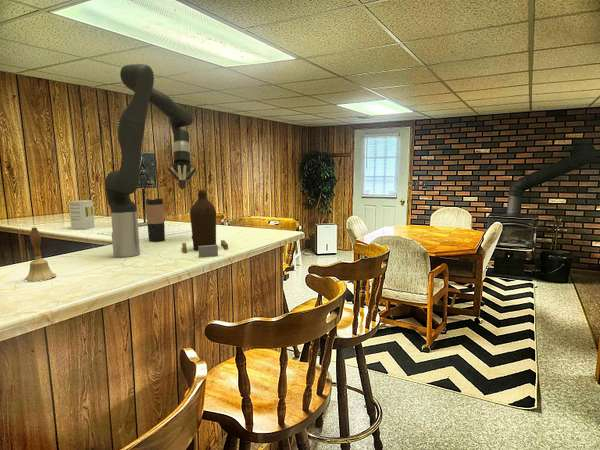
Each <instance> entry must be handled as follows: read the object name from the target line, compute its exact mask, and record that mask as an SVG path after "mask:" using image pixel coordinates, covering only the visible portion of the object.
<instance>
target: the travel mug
mask: <svg viewBox="0 0 600 450" xmlns="http://www.w3.org/2000/svg"><path fill="white" fill-rule="evenodd" d="M145 209H146V221H147V222H146V223H147V224H146V225H147V226H146V227H147V234H148V242H149V243H160V242H164V241H166V233H165V232H166V231H165V230H166V229H165V213H164V200H163V198H154V199H151V198H147V199H145Z"/></svg>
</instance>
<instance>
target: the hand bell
mask: <svg viewBox="0 0 600 450" xmlns="http://www.w3.org/2000/svg"><path fill="white" fill-rule="evenodd" d="M29 239H30V243H31V245H32V247H33V255H34V259H33V260H32V261H31V262H30V263H29V271H28V274H27V276H26V277H25V278H24V280H27V281H39V282H41V281H40V280H45V279H49V278H52V277H54V276H56V275H57V274H56V273H54V272H53V271H52V269H51V268H50V266H49V263H48V260H46V259H43V258H42V253H41V244H42V243H41V242H42V240H41V239H42V238H41V235H40V231H39V230H38V227H36V226H35V227H31V231H30V235H29ZM56 277H57V276H56ZM52 279H53V278H52ZM49 280H50V279H49ZM45 281H46V280H45Z"/></svg>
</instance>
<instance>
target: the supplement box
mask: <svg viewBox="0 0 600 450" xmlns="http://www.w3.org/2000/svg"><path fill="white" fill-rule="evenodd" d="M68 207H69V216H70V219H69V220H70V227H71V230H89V229H93V228H95V227H96V226H95V216H94V215H95V213H94V205H93V200H91V199H90V200H89V199H88V200H87V199H86V200H71V201H68Z"/></svg>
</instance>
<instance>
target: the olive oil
mask: <svg viewBox="0 0 600 450" xmlns="http://www.w3.org/2000/svg"><path fill="white" fill-rule="evenodd" d="M197 192H198V193H197V200H195V202H194V203H193V204H192V206H191V208H190V210H189V218H190V226H191V240H192V247H193V250H194V251H198V246H206V245H217V210H216V207H215V205H214V204H213V203H211V202H210V200H209V199H208V198H207V190H206V189H197Z"/></svg>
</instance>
